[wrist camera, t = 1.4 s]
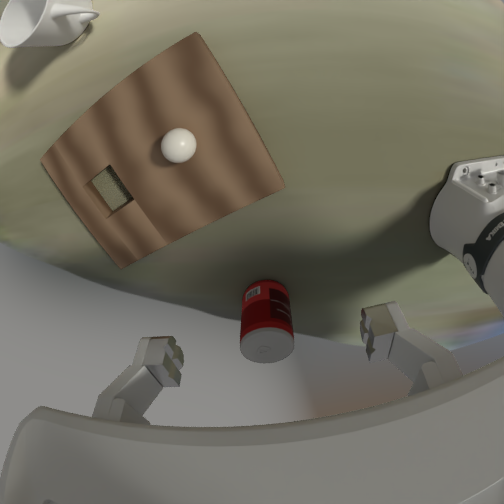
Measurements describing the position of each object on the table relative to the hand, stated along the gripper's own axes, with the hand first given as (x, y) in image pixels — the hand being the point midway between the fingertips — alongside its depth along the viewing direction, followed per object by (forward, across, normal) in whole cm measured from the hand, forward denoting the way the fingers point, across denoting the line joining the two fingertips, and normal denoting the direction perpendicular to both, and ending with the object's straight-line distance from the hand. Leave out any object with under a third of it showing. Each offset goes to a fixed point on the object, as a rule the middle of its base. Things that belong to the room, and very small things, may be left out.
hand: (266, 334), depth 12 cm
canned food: (+28, +3, +23) cm, 37 cm away
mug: (+28, +19, -27) cm, 44 cm away
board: (+28, +14, -3) cm, 31 cm away
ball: (+23, +8, -4) cm, 25 cm away
